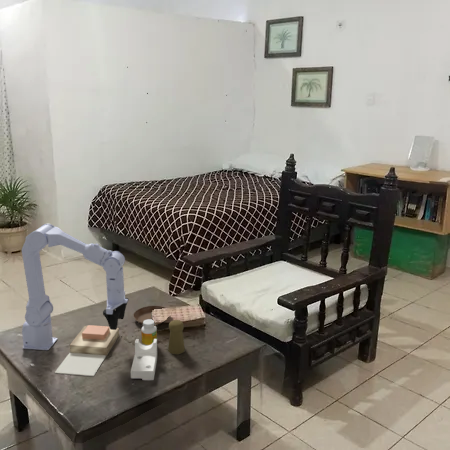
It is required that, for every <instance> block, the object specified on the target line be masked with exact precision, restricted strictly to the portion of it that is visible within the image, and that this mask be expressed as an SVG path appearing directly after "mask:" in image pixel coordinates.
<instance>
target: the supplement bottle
mask: <svg viewBox="0 0 450 450" xmlns="http://www.w3.org/2000/svg"><path fill="white" fill-rule="evenodd" d="M154 325H155V323H154V320H152V319H147V320H144V321H143V325H142V327H141V329H140V330H141V332H140V333H141V344H142V345H145V346H148V345H151V344H152V343H153V342H154V339H157V340H158V335H157V334H158V333H157V332H158V331H157V330H158V329H157V328H158V327H157V326H154Z"/></svg>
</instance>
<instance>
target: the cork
mask: <svg viewBox="0 0 450 450" xmlns="http://www.w3.org/2000/svg"><path fill="white" fill-rule="evenodd" d="M184 325H185V324H184V323H183V321H182V320H180V319H173V320H171V321H170V322H169V324H168V329H169V331H170V332H169V339H168V347H167V353H170V354H171V355H180V354H183V353H184V352H185V350H186V347H185V340H184V332H183V330H184V327H185V326H184Z"/></svg>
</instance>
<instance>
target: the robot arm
mask: <svg viewBox="0 0 450 450" xmlns="http://www.w3.org/2000/svg"><path fill="white" fill-rule="evenodd" d="M46 246H47V247H48V248H52V247H56V246H61V247H62V246H63V248H67V249H69V250H72V251H74V252H77V253H80V254H82V255H83V258H84V259H85V260H87V261H89V262H91V263H93V264H96V265H98V266H100V267H102V268H103V271H105V274H106V275H105V279H106V280H105V281H106V282H105V283H106V308H105V309H104V310H103V311H102V314H103V316H104V317H105V319H106V321H107V323H108V327H110V329H111V330H116V329H117V328H118V323H119V320H124V317H125V314H126V308H127V305H128V302H129V301H130V298H128V297H126V291H125V282H124V281H125V280H124V278H125V277H124V267H123V266H124V264H125V262H126V258H125V255H123V253H121V251H119V250H114V251H113V250H110V249H106V248H104V247H102V246H100V244H99V243H98V242H96V243H93V242H92V243H85V242H83V241H82V240H80V239H78V238H76V237H74V236H72V235H71V234H69V233H67V232H65V231H63V230H62V229H61V228H60V227H58V226H55V225H53V224H51V223H44V224H42V225H41V226H40V227H39V228H37V229H35V230H34V231H31V232H30V233H29V234H27V235H26V236H25V241H24V243H23V245H22V247H21V254H22V255H21V256H22V261H23V267H24V268H23V269H24V275H25V282H26V288H27V293H28V300H27V303H26V305H25V311H26V312H25V315H24V320H25V321H24V323H23V324H22V328H21V334H22V343H23V346H22V349H25V350H37V351H49V350H50V349H51V348H52V347H53V345H55V343H56V342H57V341H58V337H53V327H52V318H51V317H52V316H51V314H52V313H53V312H54V304H53V303H52V302H51V300H50V296H49V295H47V294H46V289H45V283H44V276H43V270H42V269H43V268H42V262H41V255H40V252H41V251H42V250H43V249H44V248H45V247H46Z"/></svg>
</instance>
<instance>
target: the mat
mask: <svg viewBox="0 0 450 450" xmlns="http://www.w3.org/2000/svg"><path fill="white" fill-rule="evenodd" d="M106 358H107V355H94V354H81V353H70V352H69V353H68V354H67V355H66V357H65V358H64V359H63V361H62V362H61V363H60V364H59V366H58V367H57V369H55V371H54V374H57V375H58V374H61V375H70V376H71V375H72V376H86V377H95V375H96V373H97V372H98V371H99V368H100V367H101V365H102V363H103V362H104V361H105V359H106Z"/></svg>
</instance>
